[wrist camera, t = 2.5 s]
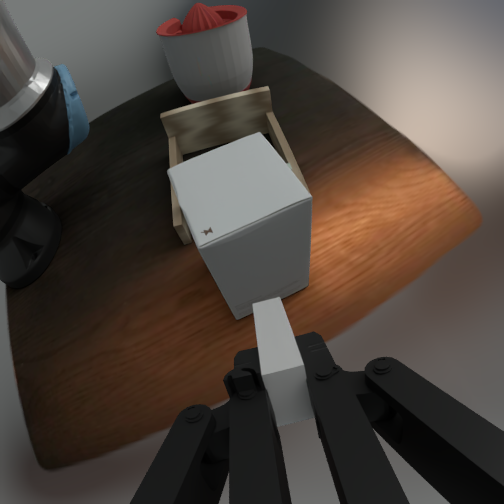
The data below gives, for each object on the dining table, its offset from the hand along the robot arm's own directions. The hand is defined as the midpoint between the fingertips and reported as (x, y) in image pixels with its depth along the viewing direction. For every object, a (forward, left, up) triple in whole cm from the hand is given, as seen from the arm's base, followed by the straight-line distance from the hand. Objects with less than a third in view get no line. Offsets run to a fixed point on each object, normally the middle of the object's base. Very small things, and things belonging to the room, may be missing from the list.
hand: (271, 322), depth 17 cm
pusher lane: (0, +26, -16) cm, 31 cm away
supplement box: (0, +11, -16) cm, 19 cm away
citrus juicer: (+1, +51, -16) cm, 54 cm away
